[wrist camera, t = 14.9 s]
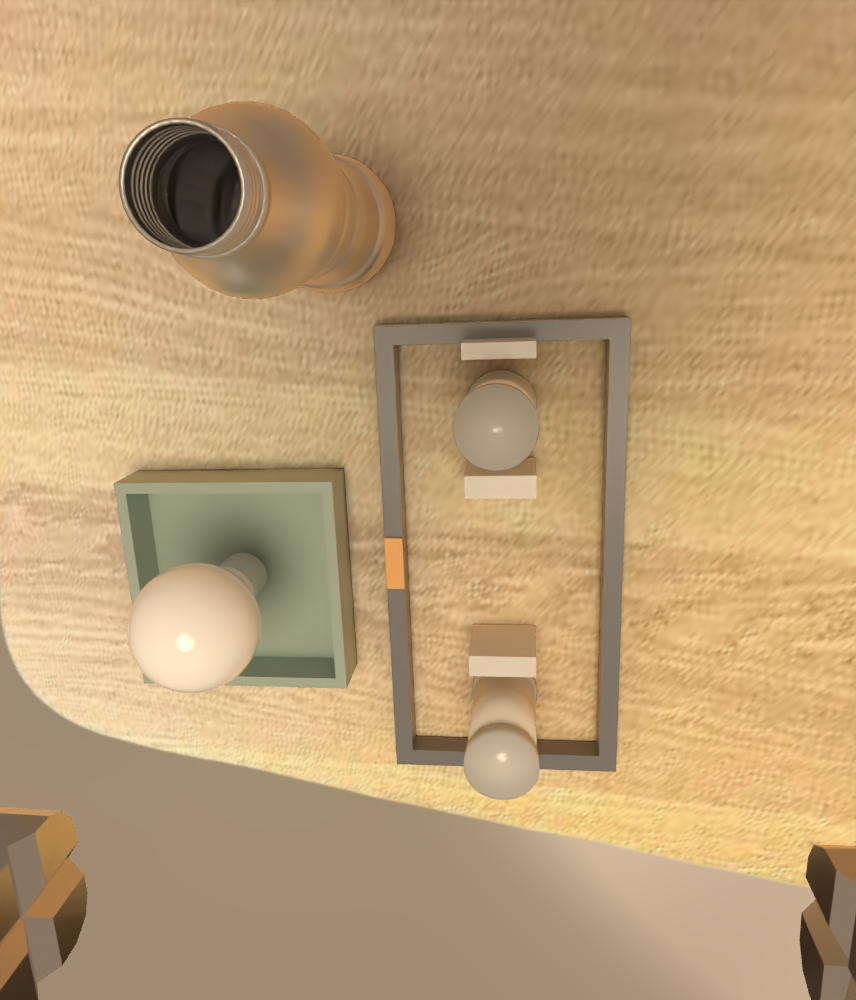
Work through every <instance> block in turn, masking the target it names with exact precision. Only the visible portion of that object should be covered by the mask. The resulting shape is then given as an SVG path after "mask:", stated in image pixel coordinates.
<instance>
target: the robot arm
mask: <svg viewBox="0 0 856 1000" xmlns="http://www.w3.org/2000/svg"><path fill="white" fill-rule="evenodd" d="M77 843H78V840H77V836H76V831H75V827H74V823H73V819H72V817H71V816H69V815H67V814H65V813H63V812H62V811H51V810H35V809H21V808H8V807H0V1000H38V988H37V982H39V981H40V980H42V979H43V978H45V977H46V976H48V975H49V974H51V973H52V972H54V971H55V970H57V969H58V968H60V967H61V966H62V965H63V964H64V962H65V960H66V959H67V958H68V956H69V954H70V953H71V951H72V950H73V948H74V946H75V945H76V943H77V941H78V938H79V935H80V932H81V928H82V925H83V923H84V920H85V917H86V906H87V888H86V882H85V876H84V874H83V873H82V872H81V871H80V869H79V868H78V867H77V866H76V865H75V864H74V863H73V862H72V861H71V860H70V858H69V856H70V854H71V852H72V851H73V849H74V848H75V846H76V844H77ZM806 879H807V881H808V883H809V885H810V888H811V890H812V892H813V894H814V896H815V898H816V900H815V901H814V902H813V903H812V904H810V906H809V907H807V908H806V909H805V910H804V911H803V912H802V915H801V930H800V949H801V958H802V967H803V973H804V976H805V980H806V984H807V988H808V992H809V995H810V998H811V1000H856V846H838V845H813V847H812V849H811V852H810V854H809V856H808V863H807V871H806Z"/></svg>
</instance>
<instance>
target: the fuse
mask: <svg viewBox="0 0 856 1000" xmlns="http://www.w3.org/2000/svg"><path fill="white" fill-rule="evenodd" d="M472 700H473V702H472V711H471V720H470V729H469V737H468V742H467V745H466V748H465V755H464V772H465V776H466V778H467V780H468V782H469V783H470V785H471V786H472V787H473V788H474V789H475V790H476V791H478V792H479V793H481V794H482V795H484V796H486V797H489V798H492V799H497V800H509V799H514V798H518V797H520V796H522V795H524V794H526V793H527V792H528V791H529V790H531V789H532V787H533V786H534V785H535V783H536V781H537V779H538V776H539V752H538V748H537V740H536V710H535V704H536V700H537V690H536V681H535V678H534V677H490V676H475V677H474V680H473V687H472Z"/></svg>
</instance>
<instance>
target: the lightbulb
mask: <svg viewBox="0 0 856 1000" xmlns="http://www.w3.org/2000/svg"><path fill="white" fill-rule="evenodd" d="M266 580H267V572H266V569H265V566H264V565H263V563H262V562H261V561H260V560H259V559H258V558H257V557H256V556H254V555H252V554H249V553H244V552H240V553H235V554H233V555H231V556H230V557H228V558H227V559H226V560H225V561H224V562H223V563H222V564H221V565H220V566H217V565H213V564H208V563H187V564H182V565H178V566H175V567H172V568H169V569H167V570H165V571H163V572H162V573H160V574H158V575H157V576H155V577H154V578H153V579H152V580H150V581H149V582H148V583H147V584H146V585H145V586H144V588H143V589H142V590H141V591H140V593H139V594H138V596H137V597H136V599H135V601H134V603H133V605H132V607H131V610H130V613H129V617H128V622H127V640H128V645H129V649H130V652H131V655H132V657H133V659H134V661H135V663H136V664H137V666H138V667H139V669H140V670H141V671H142V672H143V673H144V674H145V675H146V676H147V677H148V678H149V679H150V680H151V681H153V682H154V683H156V684H157V685H159V686H161V687H163V688H166V689H168V690H171V691H175V692H179V693H203V692H208V691H211V690H214V689H217V688H219V687H221V686H223V685H225V684H227V683H229V682H230V681H232V680H233V679H234V678H236V677H237V676H238V675H239V674H240V673H241V672H242V671H243V670H244V669H245V668H246V667H247V665H248V664H249V663H250V661H251V660H252V658H253V656H254V654H255V652H256V650H257V647H258V644H259V641H260V636H261V614H260V609H259V606H258V603H257V600H256V598H255V597H256V596H257V595H258V594H259V592H260V591H261V590H262V588H263V587H264V586H265V584H266Z"/></svg>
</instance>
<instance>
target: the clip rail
mask: <svg viewBox="0 0 856 1000" xmlns="http://www.w3.org/2000/svg"><path fill="white" fill-rule="evenodd" d="M630 332H631V318H630V317H627V316H623V317H591V318H560V319H528V320H496V321H464V322H433V323H401V324H377V325H375V326H373V333H374V351H375V369H376V387H377V406H378V424H379V442H380V460H381V479H382V497H383V515H384V533H385V538H384V545H385V563H386V581H387V589H388V606H389V624H390V642H391V661H392V679H393V697H394V715H395V734H396V752H397V764H417V765H444V766H464V755H465V748H466V745H467V742H468V738H466V737H435V736H416V726H415V705H414V683H413V662H412V641H411V619H410V598H409V576H408V555H407V534H406V512H405V491H404V470H403V448H402V427H401V406H400V384H399V363H398V345H416V344H451V343H461V360H483V359H522V358H536V341H557V340H593V339H607V346H606V386H605V426H604V466H603V506H602V546H601V586H600V626H599V666H598V706H597V742H593V741H561V740H537V748H538V752H539V769H555V770H583V771H611V772H616V755H617V725H618V694H619V664H620V634H621V604H622V574H623V543H624V513H625V483H626V453H627V423H628V392H629V362H630ZM464 488H465V499H536V466H535V458H526V459H525V460H524V461H522V462H521V463H519V464H518V465H516V466H514V467H512V468H509V469H505V470H498V471H493V470H486V469H482V468H479V467H477V466H475V465H473V464H472V463H470V462H469V461H468V464H467V468H466V472H465V475H464ZM469 676H490V677H535V678H536V643H535V625H486V624H473V628H472V635H471V643H470V650H469Z"/></svg>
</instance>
